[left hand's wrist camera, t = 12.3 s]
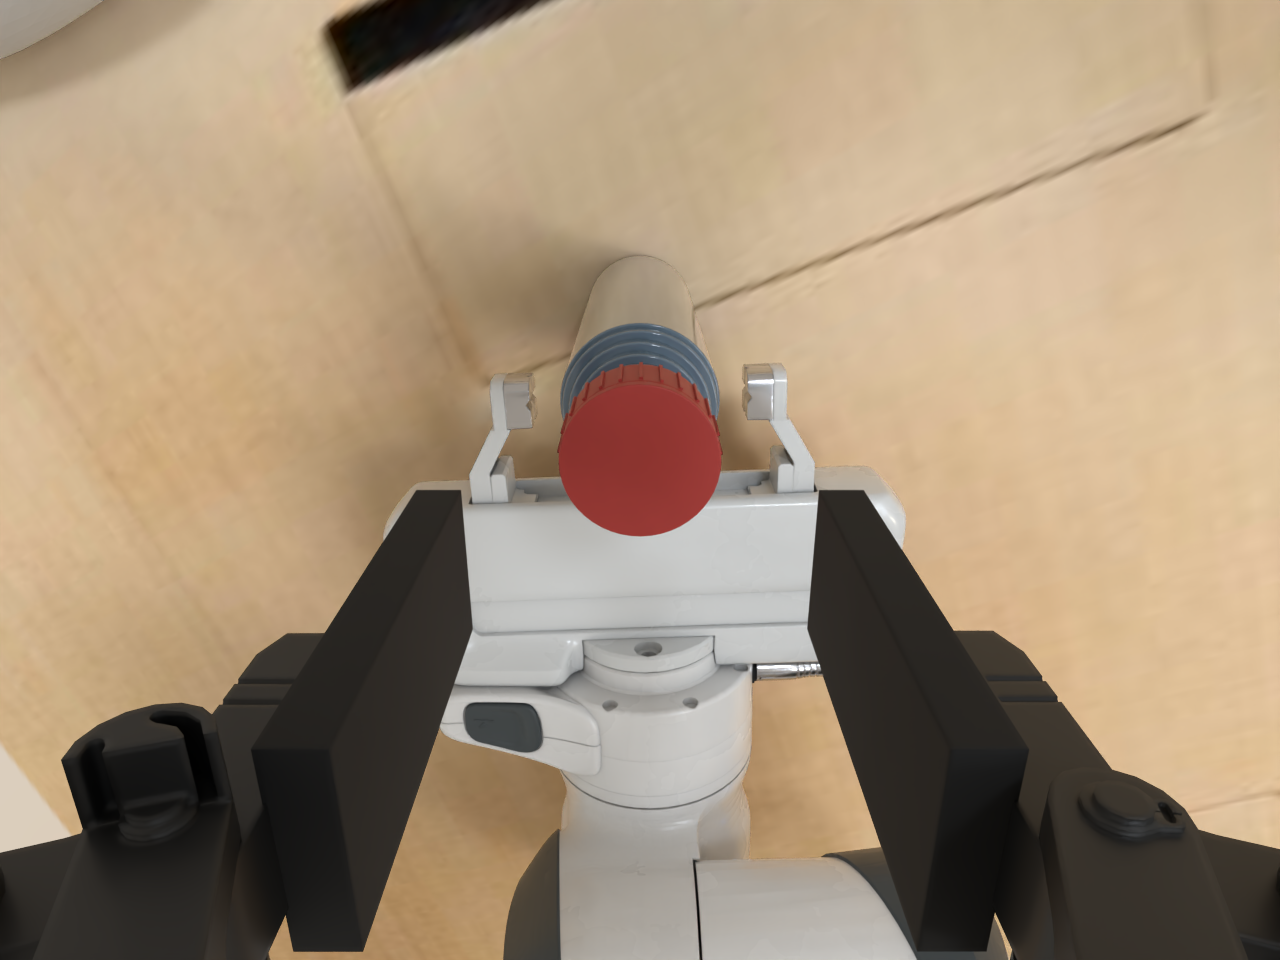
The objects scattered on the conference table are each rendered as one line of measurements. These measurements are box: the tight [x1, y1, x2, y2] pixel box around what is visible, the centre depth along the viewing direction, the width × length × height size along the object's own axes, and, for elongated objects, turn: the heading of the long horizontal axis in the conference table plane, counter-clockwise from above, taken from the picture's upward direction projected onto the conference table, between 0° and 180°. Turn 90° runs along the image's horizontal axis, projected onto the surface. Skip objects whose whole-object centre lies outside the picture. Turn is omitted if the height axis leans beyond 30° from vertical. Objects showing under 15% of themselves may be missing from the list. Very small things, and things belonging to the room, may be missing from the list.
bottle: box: [560, 256, 720, 421], centre depth 28 cm, size 4×4×19 cm
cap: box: [557, 362, 723, 537], centre depth 20 cm, size 4×4×2 cm
